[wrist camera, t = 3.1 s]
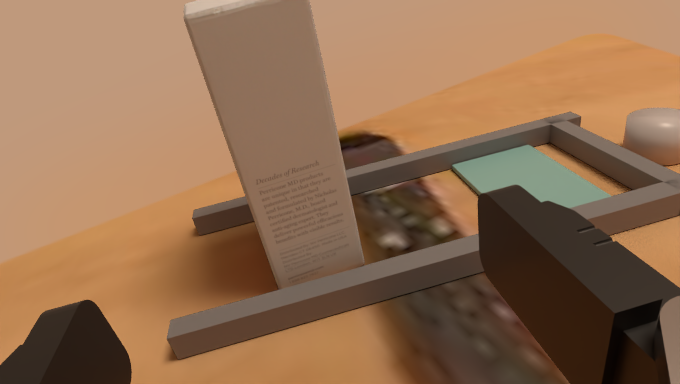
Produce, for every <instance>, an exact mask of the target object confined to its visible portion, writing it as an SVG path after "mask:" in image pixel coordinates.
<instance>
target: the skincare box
mask: <svg viewBox="0 0 680 384" xmlns="http://www.w3.org/2000/svg"><path fill="white" fill-rule="evenodd" d="M184 21H185V24H186V27H187V30H188V33H189V36H190V39H191V41H192V44H193V47H194V50H195V53H196V56H197V59H198V62H199V65H200V67H201V70H202V73H203V76H204V79H205V82H206V85H207V88H208V90H209V93H210V96H211V99H212V102H213V105H214V108H215V111H216V114H217V116H218V119H219V122H220V125H221V128H222V131H223V134H224V137H225V139H226V142H227V145H228V148H229V151H230V153H231V156H232V159H233V162H234V164H235V168H236V170H237V173H238V176H239V179H240V182H241V185H242V187H243V190H244V193H245V196H246V199H247V201H248V204H249V207H250V210H251V213H252V216H253V218H254V221H255V224H256V227H257V230H258V233H259V235H260V238H261V241H262V244H263V246H264V249H265V252H266V255H267V258H268V261H269V263H270V266H271V269H272V272H273V275H274V277H275V280H276V283H277V286H278V288H279V290H280V289H283V288H287V287H290V286H294V285H297V284H301V283H305V282H308V281H312V280H315V279H319V278H322V277H326V276H330V275H333V274H337V273H340V272H344V271H347V270H351V269H354V268H358V267H360V266H362V265H364V263H365V262H364V257H363V252H362V247H361V243H360V238H359V233H358V228H357V224H356V219H355V214H354V210H353V205H352V200H351V196H350V191H349V186H348V181H347V177H346V172H345V167H344V162H343V157H342V152H341V147H340V142H339V138H338V133H337V128H336V123H335V118H334V114H333V109H332V104H331V99H330V94H329V90H328V85H327V80H326V75H325V71H324V66H323V61H322V57H321V53H320V48H319V44H318V39H317V34H316V29H315V24H314V20H313V15H312V10H311V5H310V0H197V1H194V2H190V3H187V4H185V5H184Z"/></svg>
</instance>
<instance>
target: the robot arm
mask: <svg viewBox="0 0 680 384" xmlns="http://www.w3.org/2000/svg"><path fill="white" fill-rule="evenodd" d="M478 231H479V255H480V260H481V263H482V266H483V269H484V271H485V273H486V275H487V277H488V279H489V280H490V281H491V283H492V284H493V285H494V287H495V288H496V289H497V290H498V292H499V293H500V294H501V296H502V297H503V298H504V299H505V301H506V302H507V303H508V305H509V306H510V307H511V308H512V310H513V311H514V312H515V313H516V315H517V316H518V317H519V319H520V320H521V321H522V322H523V324H524V325H525V326H526V328H527V329H528V330H529V331H530V333H531V334H532V335H533V336H534V338H535V339H536V340H537V342H538V343H539V344H540V345H541V347H542V348H543V349H544V351H545V352H546V353H547V354H548V356H549V357H550V358H551V360H552V361H553V362H554V363H555V365H556V366H557V367H558V368H559V370H560V371H561V372H562V374H563V375H564V376H565V377H566V379H567V380H568V381H569V383H570V384H680V288H679V287H678V286H676V285H675V284H674V283H672V282H671V281H670V280H668V279H667V278H666V277H664V276H663V275H661V274H660V273H659V272H657V271H656V270H655V269H653V268H652V267H651V266H649V265H648V264H647V263H645V262H644V261H642V260H641V259H640V258H638V257H637V256H636V255H634V254H633V253H632V252H630V251H629V250H628V249H626V248H625V247H623V246H622V245H621V244H619V243H618V242H617V241H615V242H613V241H612V238H611V237H610V236H609V235H607V234H606V233H604V232H603V231H602V230H600V229H599V228H598V229H596V228H595V225H594V224H592V223H591V222H590V221H588V220H587V219H585V218H584V217H583V216H581V215H580V214H579V213H577V212H576V211H575V210H572V209H570V208H567V207H564V206H562V205H559V204H556V203H554V202H551V201H544V202H540V201H539V200H538V199H536V198H535V197H534V196H533V195H531V194H530V193H529V192H528V191H526V190H525V189H524V188H523V187H521V186H520V185H511V186H508V187H504V188H500V189H497V190H493V191H489V192H485V193H482V194H480V196H479V198H478ZM131 373H132V372H131V363H130V359H129V355H128V353H127V351H126V349H125V348H124V346H123V345H122V343H121V341H120V340H119V338H118V337H117V335H116V334H115V332H114V331H113V329H112V328H111V326H110V324H109V323H108V321H107V320H106V318H105V317H104V315H103V314H102V312H101V310H100V309H99V307H98V306H97V305H96V304H95V303H94V302H93V301H90V300H84V301H80V302H77V303H73V304H69V305H66V306H62V307H58V308H55V309H51V310H47V311H45V312H43V313H42V314H41V315H40V317H39V318H38V320H37V322H36V323H35V325H34V327H33V328H32V330H31V332H30V333H29V335H28V337H27V338H26V340H25V342H24V344H23V345H20V346H19V347H18V348H17V349H16V350H15V351H14V352H13V353H12V354H11V355H10V356H9V357H8V358H7V359H6V360H5V361H4V362H3V363H2V364H1V365H0V384H130V383H131Z"/></svg>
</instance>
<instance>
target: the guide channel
mask: <svg viewBox="0 0 680 384" xmlns="http://www.w3.org/2000/svg"><path fill="white" fill-rule="evenodd" d="M580 123H581V116H579V115H577V114H574V113H572V112H567V113H563V114H560V115H556V116H552V117H548V118H544V119H540V120H537V121H533V122H529V123H525V124H521V125H517V126H514V127H510V128H506V129H502V130H498V131H494V132H491V133H487V134H483V135H479V136H475V137H471V138H468V139H464V140H460V141H456V142H452V143H448V144H445V145H441V146H437V147H433V148H429V149H425V150H422V151H418V152H414V153H410V154H406V155H402V156H399V157H395V158H391V159H387V160H383V161H379V162H376V163H372V164H368V165H364V166H360V167H356V168H353V169H349V170H345V172H346V177H347V181H348V186H349V191H350V195H354V194H358V193H361V192H365V191H369V190H373V189H376V188H380V187H384V186H388V185H391V184H395V183H399V182H403V181H406V180H410V179H414V178H418V177H421V176H425V175H429V174H433V173H437V172H440V171H444V170H448V169H452V170H453V171H454V172H455V173H456V174H457V175H458V176H460V177H461V178H462V179H463V180H464V181H465V182H466V183H467V184H468V185H469V186H470V187H471V188H472V189H473V190H474V191H475V192H476V193H477V194H478V195H479V196H480V194H482V193H485V192H489V191H493V190H497V189H500V188H504V187H508V186H511V185H520V186H521V187H523V188H524V189H525V190H526V191H528V192H529V193H530V194H531V195H533V196H534V197H535V198H536V199H538V200H539V201H540V202H544V201H551V202H554V203H556V204H559V205H562V206H564V207H567V208H570V209H572V210H575V211H576V212H577V213H579V214H580V215H581V216H583V217H584V218H585V219H587V220H588V221H590V222H591V223H592V224H594V225H595V228H596V229H598V228H599V229H600V230H602V231H603V232H604V233H606V234H607V235H612V234H615V233H619V232H622V231H626V230H629V229H633V228H636V227H639V226H643V225H646V224H650V223H653V222H657V221H660V220H664V219H667V218H671V217H674V216H678V215H680V174H678V173H676V172H674V171H672V170H670V169H668V168H666V167H663V166H666V165H675V164H679V163H680V110H679V109H673V108H647V109H641V110H637V111H634V112H632V113H630V114H629V115H628V116H627V121H626V127H625V134H624V140H623V147H621V146H619V145H617V144H615V143H613V142H611V141H609V140H606V139H604V138H602V137H600V136H598V135H596V134H594V133H592V132H589V131H587V130H585V129H583V128H581V127H580ZM549 142H550V143H552V144H554V145H555V146H557V147H559V148H561V149H562V150H564V151H566V152H568V153H569V154H571V155H573V156H575V157H576V158H578V159H580V160H582V161H583V162H585V163H587V164H589V165H590V166H592V167H594V168H596V169H597V170H599V171H601V172H603V173H604V174H606V175H608V176H610V177H611V178H613V179H615V180H617V181H618V182H620V183H622V184H624V185H625V186H627V187H629V188H631V189H632V191H629V192H625V193H622V194H618V195H615V196H611V195H609V194H607V193H606V192H604V191H603V190H601V189H599V188H598V187H596V186H595V185H593V184H591V183H590V182H588V181H587V180H585V179H583V178H582V177H580V176H578V175H577V174H575V173H574V172H572V171H570V170H569V169H567V168H566V167H564V166H562V165H561V164H559V163H558V162H556V161H554V160H553V159H551V158H549V157H548V156H546V155H545V154H543V153H541V152H540V151H538V150H537V149H535V148H533V147H534V146H538V145H542V144H546V143H549ZM192 219H193V221H194V224H195V226H196V228H197V231H198V233H199V235H203V234H207V233H211V232H215V231H218V230H222V229H226V228H230V227H234V226H237V225H241V224H245V223H249V222H252V221H254V218H253V216H252V213H251V210H250V207H249V204H248V201H247V199H246V196H245V197H241V198H238V199H234V200H230V201H226V202H222V203H218V204H215V205H211V206H207V207H203V208H199V209H195V210H194V213H193V217H192ZM483 271H484V269H483V266H482V263H481V260H480V255H479V234H476V235H472V236H468V237H465V238H461V239H458V240H454V241H451V242H447V243H444V244H440V245H436V246H433V247H429V248H426V249H422V250H419V251H415V252H411V253H408V254H404V255H401V256H397V257H394V258H390V259H387V260H383V261H379V262H376V263H372V264H369V265H365V266H362V267H358V268H354V269H351V270H347V271H344V272H340V273H337V274H333V275H330V276H326V277H322V278H319V279H315V280H312V281H308V282H305V283H301V284H297V285H294V286H290V287H287V288H283V289H280V290H276V291H273V292H269V293H265V294H262V295H258V296H255V297H251V298H248V299H244V300H240V301H237V302H233V303H230V304H226V305H223V306H219V307H215V308H212V309H208V310H205V311H201V312H198V313H194V314H191V315H187V316H183V317H180V318H176V319H173V320H171V321H170V325H169V330H168V335H167V340H168V342H169V344H170V346H171V348H172V349H173V351H174V353H175V355H176V356H177V358H178V360H179V359H182V358H185V357H189V356H192V355H196V354H199V353H203V352H206V351H210V350H213V349H217V348H220V347H224V346H227V345H231V344H234V343H237V342H241V341H244V340H248V339H251V338H255V337H258V336H262V335H265V334H269V333H272V332H276V331H279V330H283V329H286V328H289V327H293V326H296V325H300V324H303V323H307V322H310V321H314V320H317V319H321V318H324V317H328V316H331V315H334V314H338V313H341V312H345V311H348V310H352V309H355V308H359V307H362V306H366V305H369V304H373V303H376V302H380V301H383V300H386V299H390V298H393V297H397V296H400V295H404V294H407V293H411V292H414V291H418V290H421V289H425V288H428V287H432V286H435V285H438V284H442V283H445V282H449V281H452V280H456V279H459V278H463V277H466V276H470V275H473V274H477V273H480V272H483Z"/></svg>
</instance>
